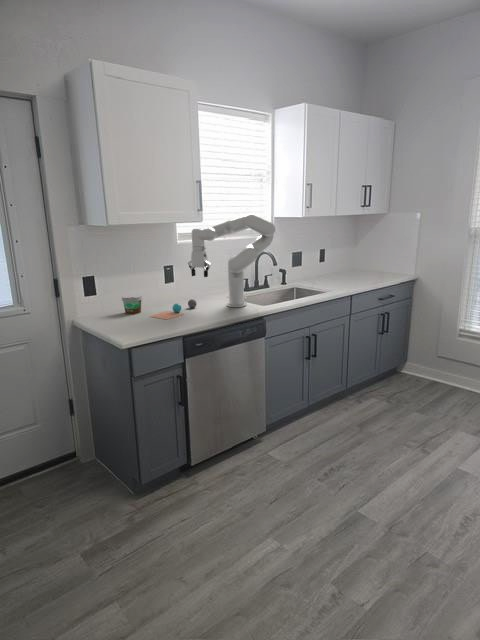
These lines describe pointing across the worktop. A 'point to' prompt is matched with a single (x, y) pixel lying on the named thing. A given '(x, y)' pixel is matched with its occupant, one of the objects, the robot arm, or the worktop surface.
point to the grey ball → (192, 303)
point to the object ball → (176, 308)
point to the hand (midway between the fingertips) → (199, 276)
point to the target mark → (166, 315)
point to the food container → (132, 305)
